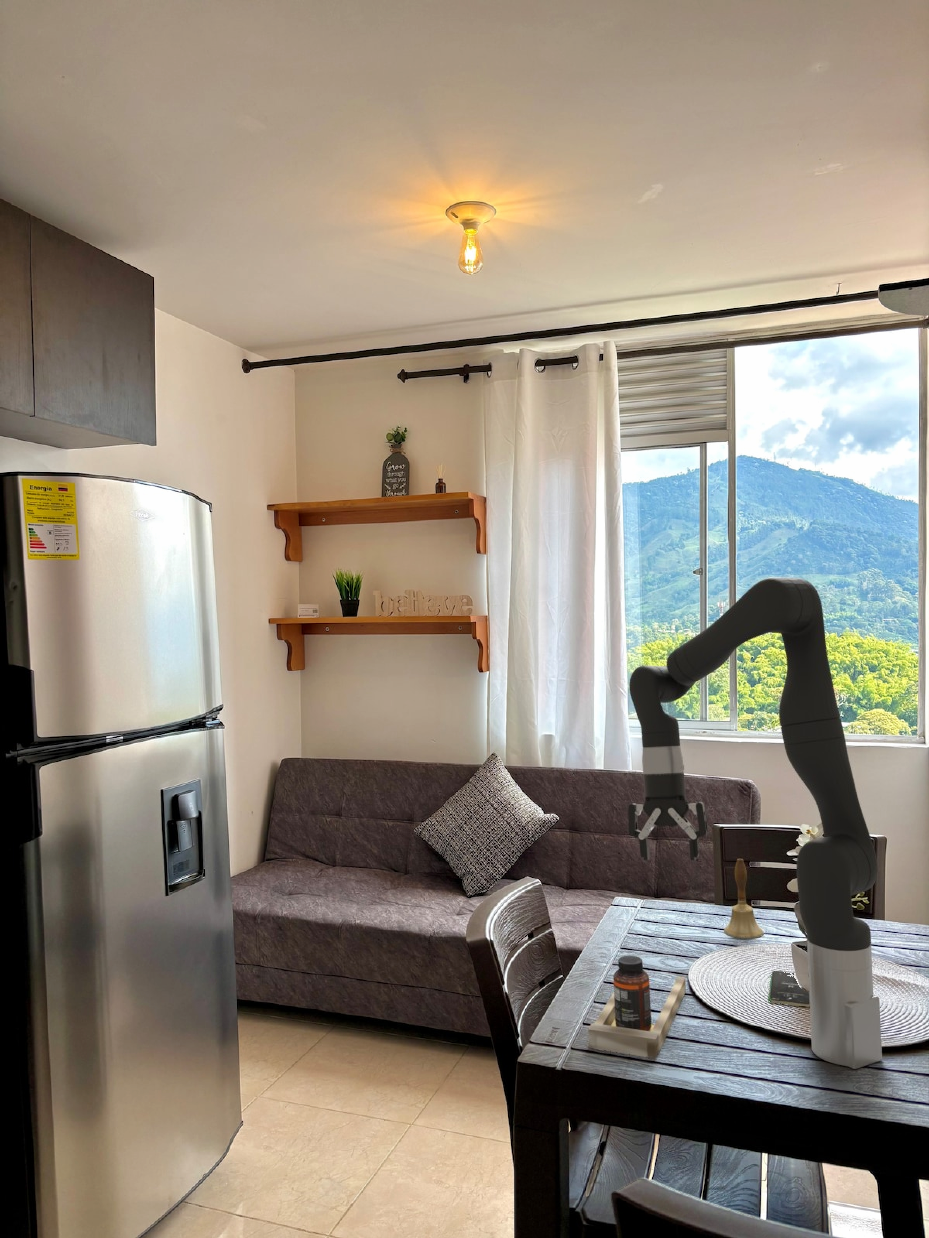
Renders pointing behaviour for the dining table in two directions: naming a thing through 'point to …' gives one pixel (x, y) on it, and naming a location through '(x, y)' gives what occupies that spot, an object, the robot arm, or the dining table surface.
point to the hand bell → (742, 910)
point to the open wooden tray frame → (633, 1039)
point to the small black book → (787, 990)
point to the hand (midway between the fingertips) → (670, 860)
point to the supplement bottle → (632, 994)
